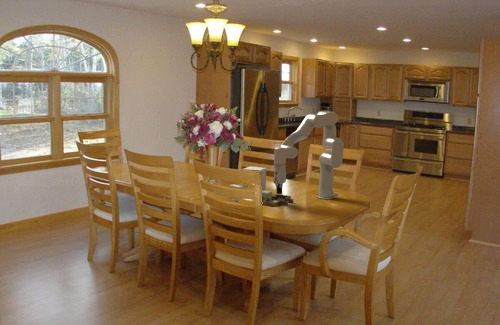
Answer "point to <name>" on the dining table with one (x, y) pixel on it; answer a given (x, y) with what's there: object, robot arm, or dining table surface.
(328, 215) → the dining table surface
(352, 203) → the dining table surface
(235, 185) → the ink box
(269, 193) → the block
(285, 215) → the dining table surface
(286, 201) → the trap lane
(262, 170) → the supplement box
